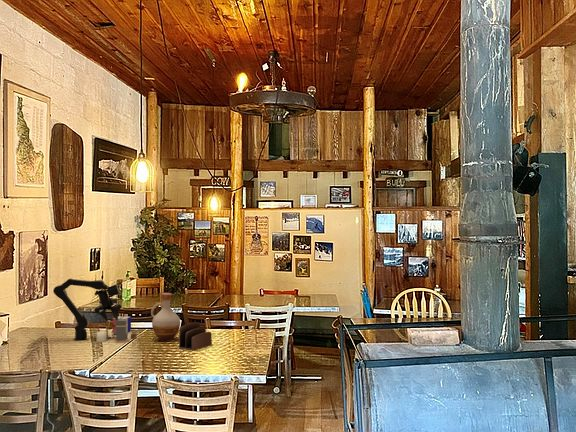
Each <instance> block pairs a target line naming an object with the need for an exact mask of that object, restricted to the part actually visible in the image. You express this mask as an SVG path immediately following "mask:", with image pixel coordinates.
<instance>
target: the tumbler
mask: <svg viewBox="0 0 576 432" xmlns="http://www.w3.org/2000/svg"><path fill="white" fill-rule="evenodd" d="M128 334H129V332H128V319H118V320H117V321H116V336H115V339H116V341H122V340H127V339H129V337H128V336H129V335H128Z"/></svg>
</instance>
